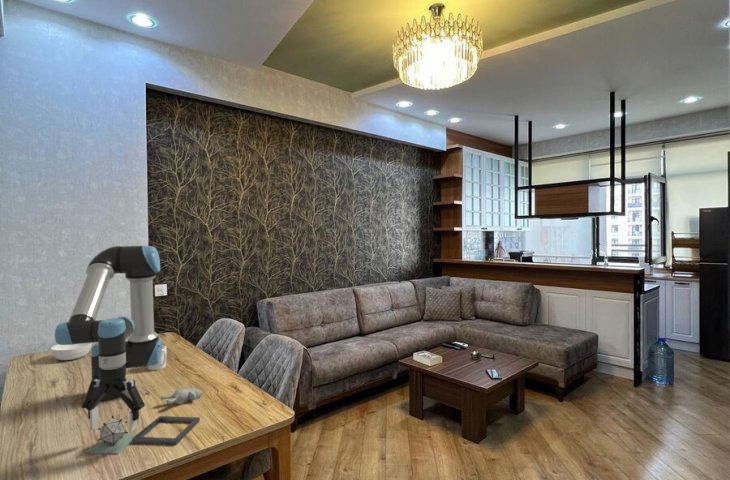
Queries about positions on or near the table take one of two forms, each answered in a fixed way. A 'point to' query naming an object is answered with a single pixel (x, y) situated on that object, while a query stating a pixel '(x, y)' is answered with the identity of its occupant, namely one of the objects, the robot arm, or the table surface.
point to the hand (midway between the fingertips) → (113, 428)
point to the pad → (108, 447)
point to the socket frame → (172, 441)
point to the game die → (112, 430)
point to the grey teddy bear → (183, 395)
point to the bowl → (70, 351)
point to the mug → (160, 361)
